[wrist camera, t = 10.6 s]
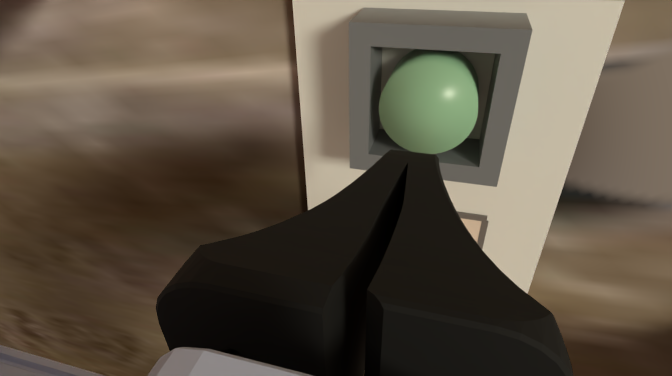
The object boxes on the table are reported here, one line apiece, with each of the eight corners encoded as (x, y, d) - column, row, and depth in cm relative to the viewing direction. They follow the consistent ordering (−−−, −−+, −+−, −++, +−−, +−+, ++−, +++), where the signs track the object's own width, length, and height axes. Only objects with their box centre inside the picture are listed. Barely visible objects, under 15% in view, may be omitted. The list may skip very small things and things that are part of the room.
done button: (486, 47, 16) (486, 66, 14) (471, 133, 18) (469, 159, 16) (390, 42, 17) (380, 59, 15) (386, 125, 19) (377, 148, 17)
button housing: (526, 13, 15) (532, 29, 14) (495, 157, 19) (496, 187, 17) (363, 7, 17) (348, 21, 15) (362, 142, 20) (349, 168, 18)
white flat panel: (620, -3, 15) (625, 1, 14) (493, 386, 28) (493, 396, 28) (296, -11, 18) (290, -8, 17) (321, 346, 31) (318, 354, 31)
